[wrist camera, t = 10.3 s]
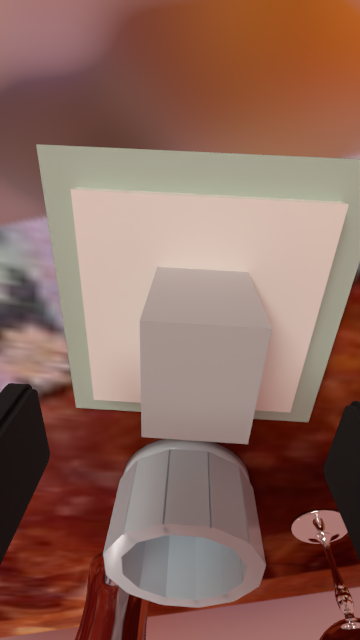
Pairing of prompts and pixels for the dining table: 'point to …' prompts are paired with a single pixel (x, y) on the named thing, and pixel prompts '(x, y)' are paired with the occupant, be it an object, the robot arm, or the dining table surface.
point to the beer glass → (111, 609)
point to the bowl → (185, 526)
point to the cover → (201, 303)
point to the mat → (199, 178)
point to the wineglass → (322, 528)
